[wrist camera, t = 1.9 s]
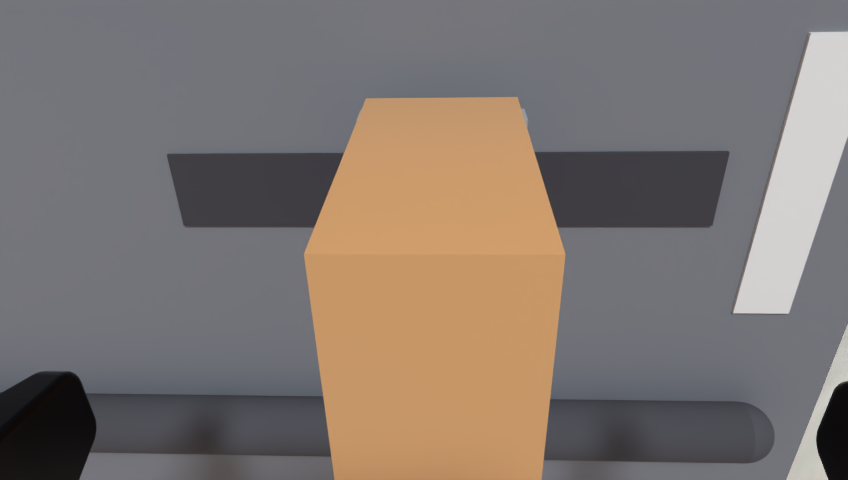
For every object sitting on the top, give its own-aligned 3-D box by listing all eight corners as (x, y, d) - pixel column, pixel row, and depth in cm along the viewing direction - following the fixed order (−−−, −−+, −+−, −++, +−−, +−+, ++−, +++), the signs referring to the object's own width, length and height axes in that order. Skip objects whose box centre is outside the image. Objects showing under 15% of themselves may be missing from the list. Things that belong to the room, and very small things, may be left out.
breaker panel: (736, 411, 19) (782, 495, 17) (-14, 401, 20) (-84, 479, 18) (982, -380, 10) (1165, -470, 8) (-375, -324, 11) (-626, -386, 9)
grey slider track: (751, 431, 16) (777, 477, 14) (-72, 419, 17) (-113, 461, 15) (975, -235, 9) (1056, -253, 8) (-420, -191, 10) (-541, -202, 9)
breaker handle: (513, 290, 13) (550, 537, 8) (373, 289, 13) (327, 532, 8) (525, 86, 11) (585, 254, 6) (359, 88, 11) (284, 253, 6)
